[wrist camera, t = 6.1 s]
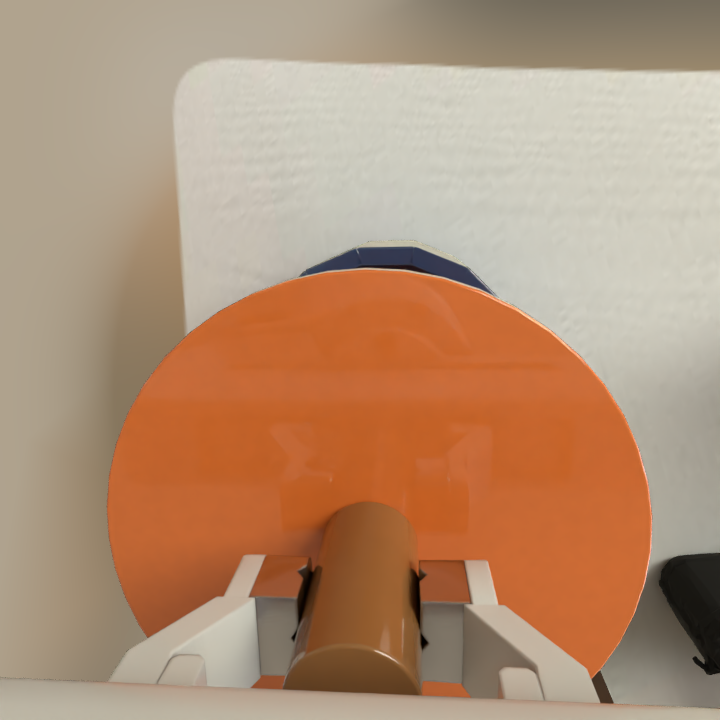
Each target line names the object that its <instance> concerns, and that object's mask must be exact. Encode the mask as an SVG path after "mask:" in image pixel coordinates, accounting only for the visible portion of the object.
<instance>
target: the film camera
mask: <svg viewBox="0 0 720 720" xmlns="http://www.w3.org/2000/svg"><path fill="white" fill-rule="evenodd" d="M659 586H660V587H661V589H662V592H663V593H664V595H665V596H666V598H667V602H668V603H669V605H670V607H671V609H672V610H673V612H674V614H675V615H676V617H677V619H678V620H679V622H680V623H681V625H682V626H683V628H684V629H685V631H686V632H687V634H688V635H689V636H690V638H691V639H692V641H693V642H694V644H695V645H696V647H697V648H698V650H699V652H700V653H701V655H702V656H703V658H704V660H705V663H704V664H703V663H702V662H701V661H700V660H699V659H698V658H697V657H696V656H695V657H693V658H692V659H693V661H694V662H695V664H697V665H698V666H699V667H701V668H702V669H704V671H705V672H706V674H708V675H713V674H717V673H720V553H714V554H695V555H684V556H678V557H676V558H674V559H672V560H670V561H669V562H668V563H667V565H666V566H665V567H664V568H663V569H662V572H661V580H660V581H659Z"/></svg>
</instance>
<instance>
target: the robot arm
mask: <svg viewBox="0 0 720 720" xmlns="http://www.w3.org/2000/svg"><path fill="white" fill-rule="evenodd" d="M312 573H313V570H312V560H311V557H306V556H284V555H266V554H246V555H244V556H243V557H242V559H241V561H240V563H239V565H238V567H237V569H236V571H235V573H234V575H233V577H232V579H231V581H230V583H229V585H228V587H227V590H226V592H225V594H224V596H223V597H220V596H217V597H215V598H213V599H212V600H210V601H208V602H207V603H205V604H203V605H202V606H200V607H198V608H197V609H195V610H193V611H192V612H190V613H188V614H187V615H185V616H183V617H182V618H180V619H179V620H177V621H175V622H174V623H172V624H170V625H169V626H167V627H165V628H164V629H162V630H160V631H159V632H157V633H155V634H154V635H152V636H150V637H149V638H147V639H145V640H144V641H142V642H140V643H139V644H137V645H135V646H134V647H132V648H130V649H129V650H127V651H126V653H125V654H124V656H123V657H122V659H121V661H120V662H119V664H118V665H117V667H116V668H115V670H114V671H113V673H112V674H111V676H110V677H109V679H108V680H107V682H98V681H75V680H52V679H29V678H6V677H5V678H4V677H0V720H720V708H700V707H677V706H654V705H632V704H609V703H600V700H599V698H598V695H597V693H596V691H595V688H594V686H593V683H592V681H591V678H590V676H589V673H588V671H587V669H586V668H585V667H584V666H583V665H581V664H580V663H579V662H577V661H576V660H575V659H574V658H572V657H571V656H570V655H568V654H567V653H566V652H564V651H563V650H562V649H561V648H559V647H558V646H557V645H555V644H554V643H553V642H552V641H550V640H549V639H548V638H546V637H545V636H544V635H543V634H541V633H540V632H539V631H537V630H536V629H535V628H534V627H532V626H531V625H530V624H528V623H527V622H526V621H525V620H523V619H522V618H521V617H519V616H518V615H517V614H516V613H514V612H513V611H512V610H510V609H509V608H508V607H507V606H505V605H498V601H497V597H496V593H495V589H494V585H493V580H492V576H491V572H490V568H489V564H488V561H487V560H419V563H418V584H419V615H420V632H421V639H422V667H423V681H430V682H444V683H459V684H462V686H463V687H464V689H465V690H466V691H467V693H468V694H469V695H470V697H471V698H469V697H446V696H423V695H399V694H376V693H353V692H330V691H307V690H283V689H260V688H251V687H252V686H253V685H254V684H255V683H256V682H257V681H258V680H259V679H260V678H261V677H260V675H269V676H285V675H286V671H287V667H288V664H289V660H290V656H291V652H292V648H293V645H294V641H295V637H296V633H297V630H298V626H299V622H300V618H301V615H302V611H303V607H304V603H305V599H306V596H307V592H308V588H309V584H310V581H311V577H312Z"/></svg>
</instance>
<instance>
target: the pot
mask: <svg viewBox="0 0 720 720" xmlns="http://www.w3.org/2000/svg"><path fill="white" fill-rule="evenodd" d="M357 268H381V269H401V270H409V271H414V272H420V273H425V274H431V275H436V276H441V277H445V278H448V279H451V280H454V281H457V282H460V283H464V284H467V285H470V286H473V287H476V288H479V289H481V290H483V291H485V292H487V293H489V294H492V295H494V296H496V295H495V294H494V293H493V292H492V291H491V290H490V289H489V288H488V286H487V285H486V284H485V283H484V282H483V281H482V280H481V279H480V278H479V277H478V276H477V275H476V274H475V273H474V272H473V271H472V270H471V269H469V268H468V267H467V266H466V265H465V264H463V263H462V262H461V261H460V260H459V259H457V258H456V257H455V256H452V255H450V254H447V253H445V252H442V251H440V250H438V249H436V248H433V247H430V246H428V245H425V244H423V243H420V242H418V241H413V240H389V241H370V242H369V241H368V242H366V243H364V244H361V245H359V246H357V247H355V248H352V249H350V250H348V251H346V252H343V253H341V254H339V255H337V256H334V257H332V258H330V259H328V260H326V261H324V262H321V263H319V264H317V265H315V266H313V267H311V268H309V269H307V270H306V271H304V272H303V273H302V274H301V275H300V276H299V277H302V276H307V275H311V274H316V273H320V272H325V271H332V270H345V269H357ZM496 297H497V296H496Z"/></svg>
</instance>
